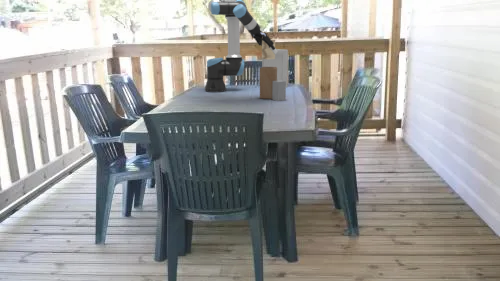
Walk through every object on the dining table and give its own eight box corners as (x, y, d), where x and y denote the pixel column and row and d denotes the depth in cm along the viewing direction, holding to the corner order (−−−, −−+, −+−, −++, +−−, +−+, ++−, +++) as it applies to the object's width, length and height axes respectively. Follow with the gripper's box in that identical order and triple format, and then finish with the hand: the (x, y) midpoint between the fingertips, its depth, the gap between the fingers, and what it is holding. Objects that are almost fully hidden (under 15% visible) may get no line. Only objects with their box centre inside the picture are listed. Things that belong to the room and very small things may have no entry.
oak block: (261, 58, 293) (262, 39, 290) (269, 58, 297) (269, 39, 294) (267, 59, 289) (267, 40, 286) (274, 59, 292) (275, 39, 289)
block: (274, 99, 293) (275, 68, 288) (259, 98, 295) (259, 67, 290) (276, 97, 303) (277, 66, 298) (262, 96, 305) (262, 66, 300)
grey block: (272, 99, 293) (272, 81, 290) (279, 98, 296) (280, 80, 293) (278, 101, 288) (278, 81, 285) (285, 100, 291) (285, 81, 288)
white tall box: (283, 84, 363) (284, 48, 356) (287, 87, 349) (288, 50, 342) (259, 85, 361) (260, 49, 354) (262, 87, 346) (263, 50, 339)
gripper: (240, 30, 287) (261, 55, 300) (257, 31, 272) (278, 57, 285) (247, 21, 289) (267, 47, 302) (264, 21, 274) (285, 48, 287)
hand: (273, 52), depth 294 cm, fingers closed on oak block, 6 cm apart
